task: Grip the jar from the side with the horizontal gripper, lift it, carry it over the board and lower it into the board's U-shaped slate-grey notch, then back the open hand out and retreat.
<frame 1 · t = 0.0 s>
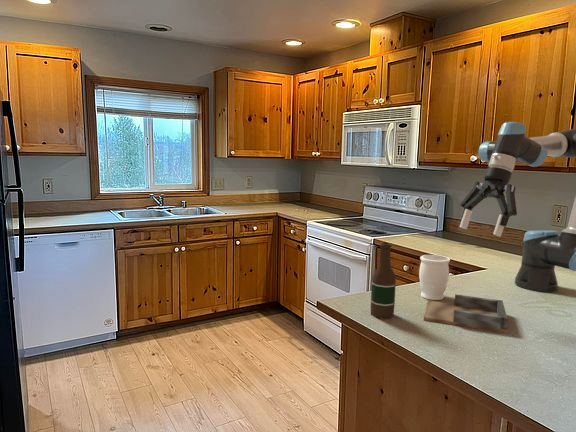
hand: (479, 231, 137), 28 cm above the counter, tool tilted 20°, fingers open, 13 cm apart
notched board: (464, 316, 138), on the counter
beer bottle: (382, 315, 139), on the counter
jar: (432, 297, 157), on the counter
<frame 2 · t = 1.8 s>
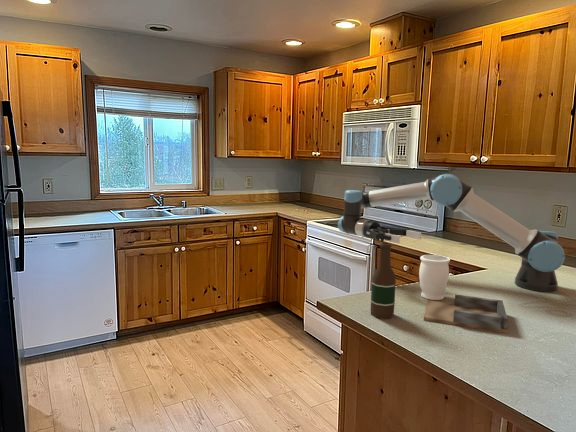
hand: (410, 237, 163), 21 cm above the counter, tool horizontal, fingers open, 13 cm apart
nothing on the counter moved.
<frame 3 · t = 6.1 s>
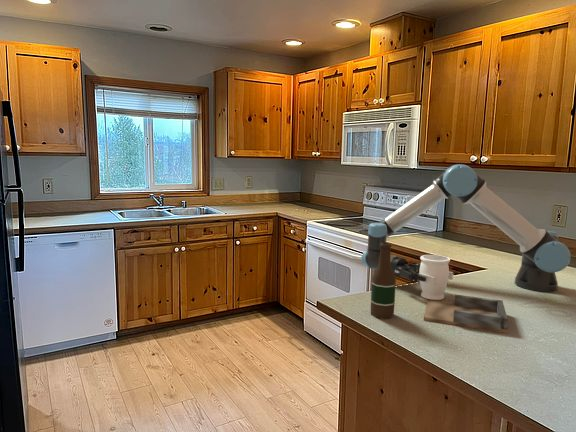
hand: (443, 278, 153), 8 cm above the counter, tool horizontal, fingers closed on jar, 10 cm apart
jar: (432, 297, 157), on the counter, touching gripper
everything else where it was.
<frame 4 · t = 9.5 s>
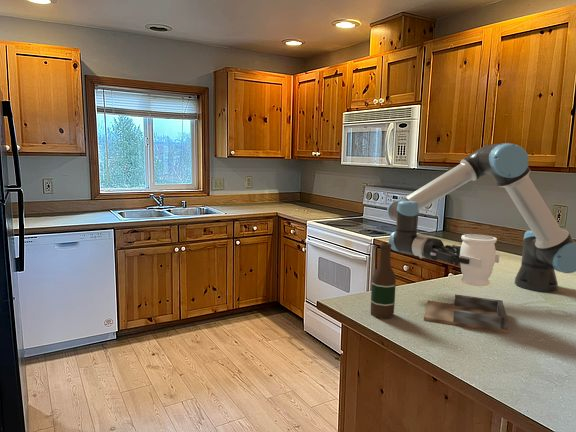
hand: (489, 261, 131), 20 cm above the counter, tool horizontal, fingers closed on jar, 10 cm apart
jar: (475, 283, 136), point 12 cm above the counter, touching gripper
everything else where it was.
when the fingers open (10 cm above the counter, at t = 12.8 s): jar drops 1 cm, resting on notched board.
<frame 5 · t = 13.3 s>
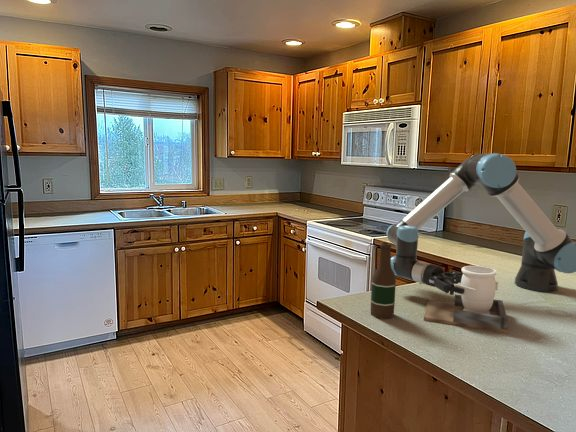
hand: (486, 289, 133), 10 cm above the counter, tool horizontal, fingers open, 13 cm apart
jar: (476, 314, 138), point 1 cm above the counter, touching gripper, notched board
everything else where it was.
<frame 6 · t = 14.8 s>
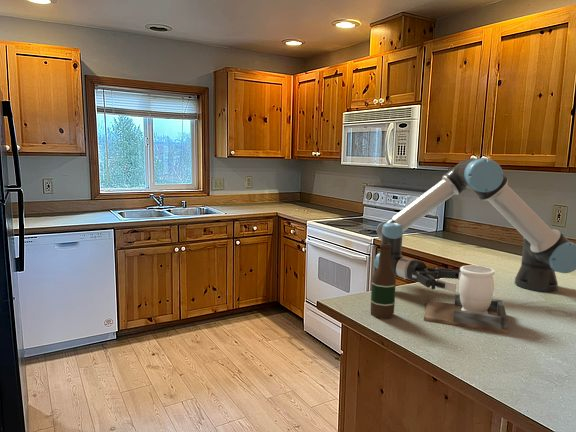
hand: (466, 284, 138), 11 cm above the counter, tool horizontal, fingers open, 13 cm apart
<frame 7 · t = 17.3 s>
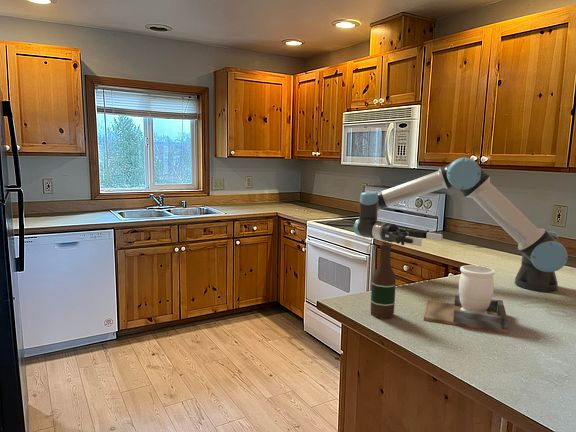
hand: (431, 240, 157), 21 cm above the counter, tool horizontal, fingers open, 13 cm apart
jar: (473, 313, 139), point 1 cm above the counter, touching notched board
everything else where it was.
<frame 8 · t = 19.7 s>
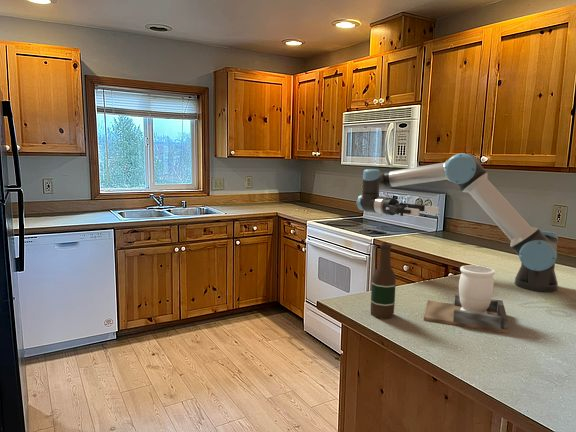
hand: (429, 211, 169), 30 cm above the counter, tool horizontal, fingers open, 13 cm apart
nothing on the counter moved.
at the end: jar inside the target area on the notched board (2.0 cm from its centre), point 0.8 cm above the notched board's base; jar tilted 0°; the gripper is holding nothing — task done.
